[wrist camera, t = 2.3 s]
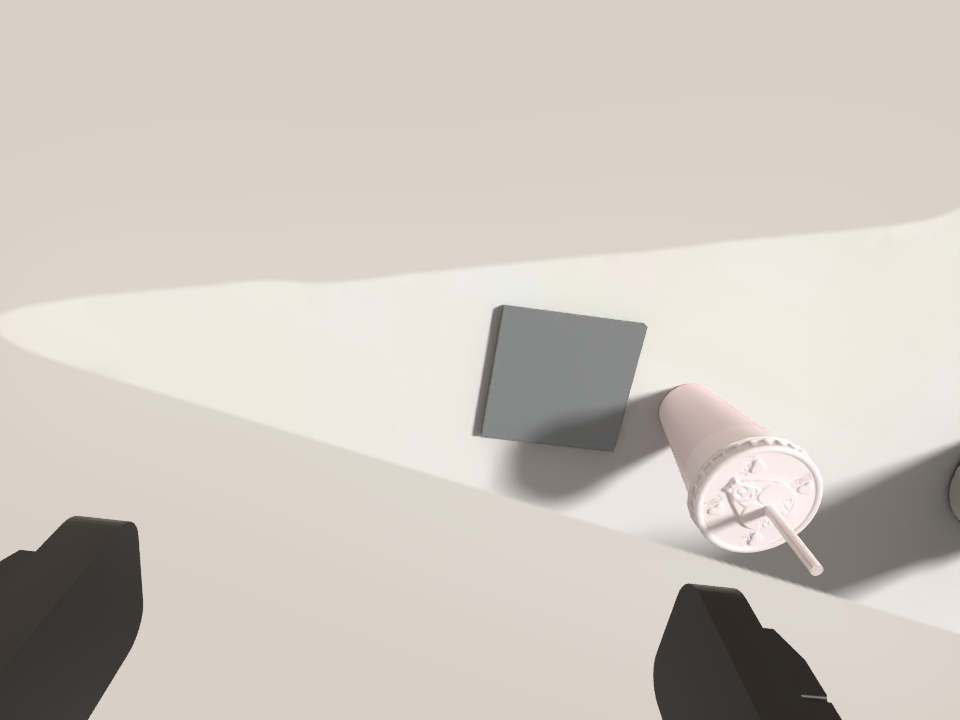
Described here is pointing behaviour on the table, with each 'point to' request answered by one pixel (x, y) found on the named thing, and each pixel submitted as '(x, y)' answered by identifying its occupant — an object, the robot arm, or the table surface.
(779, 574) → the table surface
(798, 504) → the smoothie
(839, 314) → the table surface
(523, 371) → the coaster
